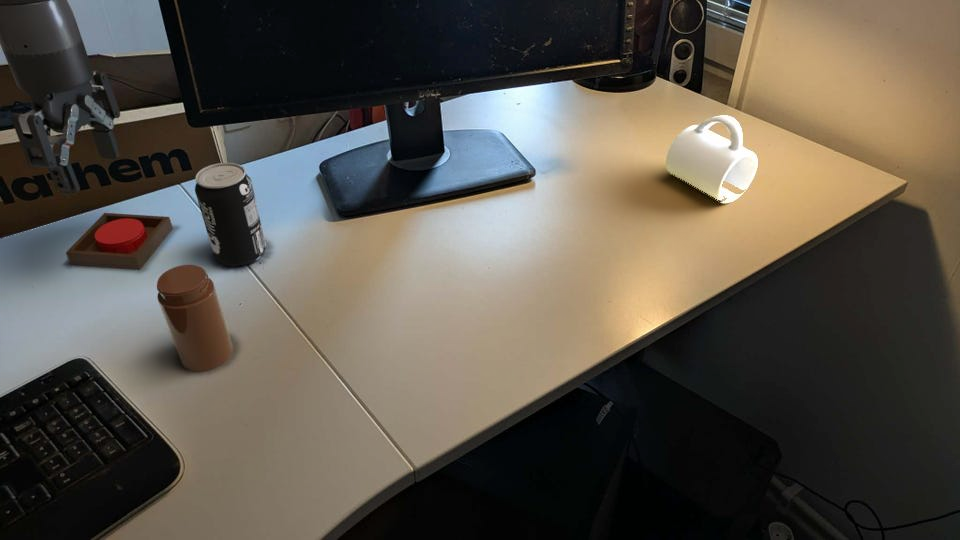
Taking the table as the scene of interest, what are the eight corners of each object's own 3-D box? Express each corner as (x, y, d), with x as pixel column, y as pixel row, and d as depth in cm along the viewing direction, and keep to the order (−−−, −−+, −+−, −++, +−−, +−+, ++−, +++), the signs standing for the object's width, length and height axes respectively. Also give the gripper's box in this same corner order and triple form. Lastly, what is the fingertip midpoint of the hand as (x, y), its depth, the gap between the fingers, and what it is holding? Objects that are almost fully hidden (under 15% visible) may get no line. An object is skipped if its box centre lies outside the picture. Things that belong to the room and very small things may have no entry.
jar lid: (123, 225, 91) (119, 214, 90) (157, 235, 89) (153, 224, 88) (88, 249, 86) (83, 237, 85) (123, 260, 85) (118, 248, 84)
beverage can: (205, 254, 87) (181, 174, 79) (249, 233, 91) (230, 155, 83) (232, 276, 83) (209, 194, 76) (277, 253, 87) (259, 173, 80)
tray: (71, 265, 85) (65, 252, 83) (109, 224, 92) (104, 212, 91) (140, 269, 84) (135, 257, 83) (173, 228, 91) (169, 216, 90)
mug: (696, 166, 107) (714, 96, 100) (749, 194, 100) (772, 121, 93) (660, 180, 103) (675, 108, 96) (712, 210, 97) (733, 136, 89)
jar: (172, 369, 71) (142, 294, 64) (193, 334, 75) (167, 260, 68) (221, 373, 70) (196, 297, 64) (240, 338, 75) (218, 263, 68)
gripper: (32, 66, 65) (87, 207, 74) (111, 21, 76) (150, 149, 86) (-41, 61, 65) (24, 202, 75) (49, 17, 76) (95, 144, 86)
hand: (91, 173), depth 80 cm, fingers open, 8 cm apart
